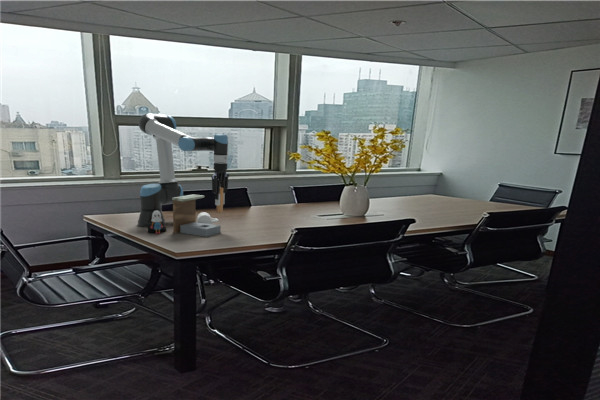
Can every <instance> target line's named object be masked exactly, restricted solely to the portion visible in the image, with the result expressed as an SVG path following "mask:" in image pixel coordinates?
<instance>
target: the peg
mask: <svg viewBox="0 0 600 400" xmlns="http://www.w3.org/2000/svg"><path fill="white" fill-rule="evenodd" d="M219 194H220V205H216V213H217V214H222V213H223V212H224V211H223V210H224V209H223V208H224V205H223V188H222V187H220V190H219Z"/></svg>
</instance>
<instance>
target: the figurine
mask: <svg viewBox="0 0 600 400" xmlns="http://www.w3.org/2000/svg"><path fill="white" fill-rule="evenodd" d="M151 221H153V223H152V226H151V227H147V234H151V235H161V234H165V233H166V232H167V227H166V226H164V225H162V224H161V221H162V219H161V213H160V212H159V211H157V210H156V211H154V212H153V214H152V220H151ZM154 222H156V223H155V225H154V226H153V224H154Z"/></svg>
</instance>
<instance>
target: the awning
mask: <svg viewBox="0 0 600 400" xmlns="http://www.w3.org/2000/svg"><path fill="white" fill-rule="evenodd" d="M203 198H205V195H202V194H201V195H200V194H193V193H192V194H188V195H187V194H186V195H183V196H180V197H174V198H172V200H173V204H172V219H173V220H172V223H173V224H172V227H173V228H172V229H173V230H172V232H173V233H175V234H178V233H180V225H184V224H188V223H192V222H197V217H196V200H198V199H203Z"/></svg>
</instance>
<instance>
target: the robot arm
mask: <svg viewBox="0 0 600 400" xmlns="http://www.w3.org/2000/svg"><path fill="white" fill-rule="evenodd" d="M176 123H177V121H176V120H175V118H174V117H172V116H171V115H170V114H165V113H163V114H162V113H144V114H143V115H142V116H140V118H139V120H138V128H139V129H140V130H141V132H143V133H145V134H146V135H149V136H152V138H153V139H154V140H155V143H156V151H157V159H158V168H159V178H160V179H159V181H158V182H157V183H149V184H144V185H141V187H140V191H139V196H140V197H139V198H140V199H139V200H140V201H139V202H140V213H139V217H138V220H137V226H139V227H143V228H144V227H145V228H148V227H151V226H152V223H153V221H151V220H152V214H153V212H154V211H156V210H157V211H159V212H160V213H161V219H162V221H161V224H162V226H164V225H166V220H165V218H164V214H163V211H162V209H163V208H162V206H166V205H173V200H172V198H174V197H180V196H184V190H183V187H182V185H181V184H179V181H178V179H176V175H175V174H176V173H175V166H174V155H173V146H172V144H173V145H175V146H177V147H179V149H180V150H181V151H183V152H213V170H214V174H211V190H212V191H211V192H212V194H214V201H215V202H214V205H215V206H217V205H220V194H219V190H220V187H222V188H223V206H224V205H225V198H226V193H227V192H228V190H229V189H228V188H229V187H228V186H229V177H230V173H227V170H228V156H229V154H228V151H229V148H228V147H229V137H228V135H227V134H222V133H221V134H219V133H217V134H216V133H215V134H214V135H213V137H211V136H210V137H209V136H191V135H188V134H185V133H184V132H181V131H179V130H177V124H176ZM155 223H156V222H154V224H153V226H154V225H155Z"/></svg>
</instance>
